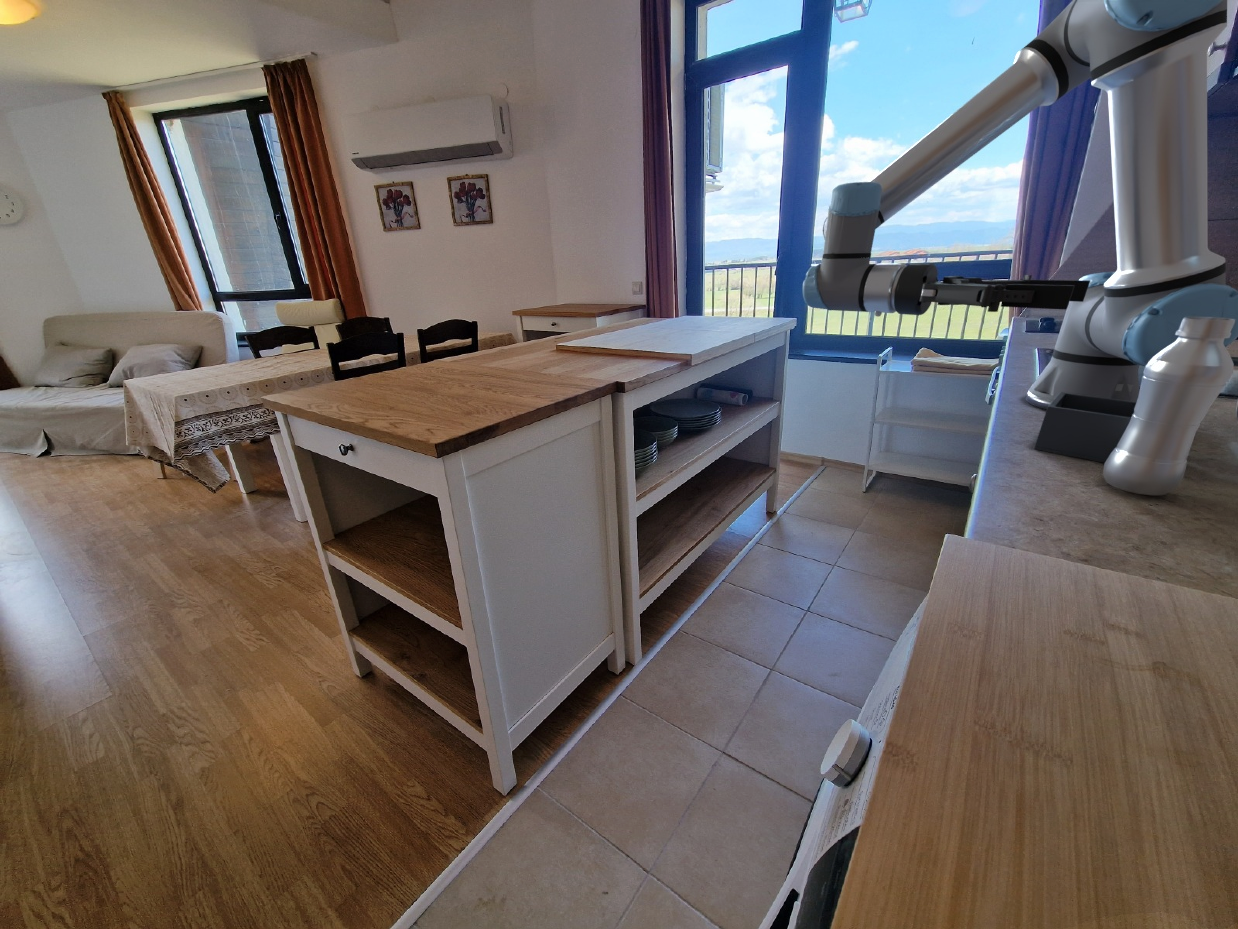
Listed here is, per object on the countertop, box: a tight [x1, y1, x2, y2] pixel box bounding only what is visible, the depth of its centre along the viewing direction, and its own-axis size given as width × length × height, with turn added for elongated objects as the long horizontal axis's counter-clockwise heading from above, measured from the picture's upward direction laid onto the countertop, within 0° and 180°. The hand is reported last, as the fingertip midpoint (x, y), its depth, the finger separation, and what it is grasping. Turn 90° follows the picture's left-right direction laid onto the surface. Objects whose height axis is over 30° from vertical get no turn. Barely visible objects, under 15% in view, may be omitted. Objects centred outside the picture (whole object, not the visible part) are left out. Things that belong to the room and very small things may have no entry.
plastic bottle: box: [1102, 317, 1235, 496], centre depth 54 cm, size 6×7×20 cm
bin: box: [1033, 392, 1136, 464], centre depth 69 cm, size 11×11×6 cm
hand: (1079, 294), depth 62 cm, fingers open, 13 cm apart
